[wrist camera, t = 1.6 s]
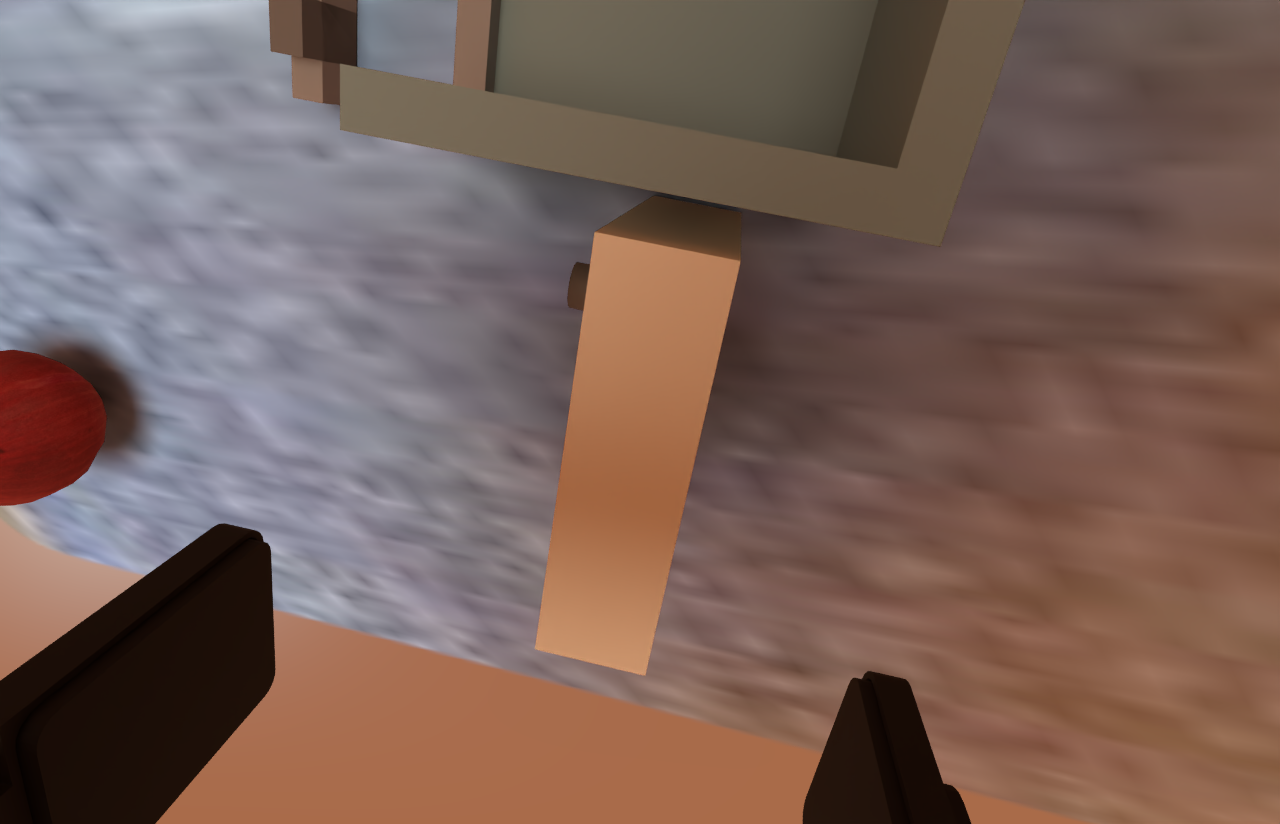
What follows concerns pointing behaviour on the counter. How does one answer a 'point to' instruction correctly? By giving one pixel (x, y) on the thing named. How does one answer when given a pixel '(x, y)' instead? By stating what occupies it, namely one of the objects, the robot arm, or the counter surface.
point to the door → (634, 423)
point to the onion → (45, 426)
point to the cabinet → (695, 97)
